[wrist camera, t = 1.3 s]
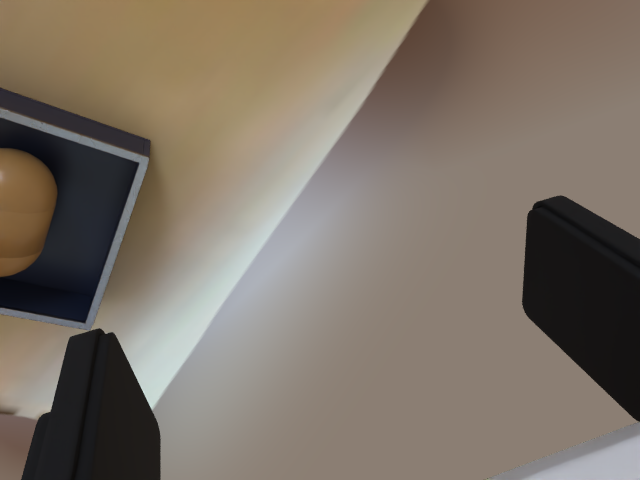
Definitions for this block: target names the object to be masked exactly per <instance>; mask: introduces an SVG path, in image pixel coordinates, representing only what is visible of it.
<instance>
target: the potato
mask: <svg viewBox="0 0 640 480" xmlns="http://www.w3.org/2000/svg"><path fill="white" fill-rule="evenodd" d="M57 194H58V193H57V185H56V182H55V179H54V176H53V175H52V173H51V171H50V170H49V168H48V167H47V166H46V165H45V164H44V163H43V162H42V161H41V160H40V159H38V158H36V157H35V156H33V155H32V154H30V153H27V152H25V151H22V150H18V149H13V148H0V277H4V276H10V275H13V274H16V273H18V272H21V271H23V270H25V269H26V268H28V267H29V266H30V265H31V264H33V263H34V262H35V261H36V259H37V258H38V257H39V255H40V254H41V252H42V250H43V247H44V244H45V241H46V237H47V234H48V230H49V227H50V223H51V220H52V216H53V213H54V209H55V206H56V201H57Z"/></svg>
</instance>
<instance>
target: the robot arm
mask: <svg viewBox="0 0 640 480" xmlns="http://www.w3.org/2000/svg"><path fill="white" fill-rule="evenodd" d="M526 232H527V233H526V247H525V265H524V281H523V298H522V305H523V308H524V311H525V313H526V315H527V316H528V317H529V319H531V320H532V321H533V322H534V323H535V324H536V325H537V326H538V327H539V328H540V329H541V330H542V331H543V332H544V333H545V334H546V335H547V336H548V337H549V338H550V339H551V340H552V341H553V342H555V343H556V344H557V345H558V346H559V347H560V348H561V349H562V350H563V351H564V352H565V353H566V354H567V355H568V356H569V357H570V358H571V359H572V360H573V361H574V362H575V363H576V364H578V365H579V366H580V367H581V368H582V369H583V370H584V371H585V372H586V373H587V374H588V375H589V376H590V377H591V378H592V379H593V380H594V381H595V382H596V383H597V384H598V385H599V386H601V387H602V388H603V389H604V390H605V391H606V392H607V393H608V394H609V395H610V396H611V397H612V398H613V399H614V400H615V401H616V402H617V403H618V404H619V405H620V406H621V407H622V408H624V409H625V410H626V411H627V412H628V413H629V414H630V415H631V416H632V417H633V418H634V419H636V420H637V421H639V422H637V423H635V424H632V425H629V426H627V427H624V428H621V429H618V430H616V431H613V432H610V433H608V434H605V435H602V436H599V437H597V438H594V439H591V440H589V441H586V442H583V443H581V444H578V445H575V446H573V447H570V448H567V449H565V450H562V451H559V452H557V453H554V454H551V455H549V456H546V457H543V458H541V459H538V460H536V461H533V462H530V463H527V464H525V465H522V466H519V467H517V468H514V469H511V470H509V471H506V472H503V473H501V474H498V475H495V476H493V477H490V478H487V479H485V480H640V239H638V238H637V237H634V236H633V235H631V234H629V233H628V232H626V231H624V230H623V229H621V228H619V227H617V226H616V225H614V224H612V223H610V222H609V221H607V220H605V219H603V218H602V217H600V216H598V215H596V214H594V213H593V212H591V211H589V210H588V209H586V208H584V207H582V206H581V205H579V204H577V203H575V202H574V201H572V200H570V199H568V198H567V197H564V196H556V197H552V198H549V199H546V200H542V201H538V202H536V203H535V204H534V206H533V208H532V210H531V211H529V213H528V216H527V231H526ZM21 480H160V431H159V427H158V423H157V421H156V418H155V416H154V414H153V412H152V410H151V408H150V406H149V404H148V402H147V399H146V397H145V395H144V393H143V391H142V389H141V387H140V385H139V383H138V381H137V379H136V377H135V375H134V372H133V370H132V368H131V366H130V364H129V362H128V360H127V358H126V356H125V354H124V352H123V350H122V347H121V345H120V343H119V341H118V339H117V337H116V335H115V334H114V333H113V332H111V333H107V334H105V333H104V331H103V330H102V329H100V328H99V329H95V330H92V331H89V332H85V333H82V334H78V335H75V336H72V337H70V338H69V341H68V344H67V348H66V352H65V356H64V360H63V364H62V368H61V372H60V376H59V380H58V384H57V388H56V392H55V396H54V401H53V405H52V409H51V412H49V413H45V414H43V415H42V416H41V417H40V418H39V420H38V422H37V424H36V428H35V431H34V435H33V438H32V442H31V446H30V450H29V453H28V457H27V461H26V464H25V468H24V471H23V475H22V479H21Z"/></svg>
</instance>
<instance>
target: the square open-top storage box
mask: <svg viewBox="0 0 640 480" xmlns="http://www.w3.org/2000/svg"><path fill="white" fill-rule="evenodd" d="M0 148H13V149H18V150H22V151H25V152H27V153H30V154H32V155H33V156H35V157H36V158H38V159H40V160H41V161H42V162H43V163H44V164H45V165H46V166H47V167H48V168H49V170H50V171H51V173H52V175H53V176H54V179H55V182H56V185H57V193H58V194H57V201H56V206H55V209H54V213H53V216H52V220H51V223H50V227H49V230H48V234H47V237H46V241H45V244H44V247H43V250H42V252H41V254H40V255H39V257H38V258H37V259H36V261H35V262H34V263H33V264H31V265H30V266H29V267H28V268H26V269H25V270H23V271H21V272H18V273H16V274H13V275H10V276H4V277H0V314H2V315H8V316H13V317H19V318H24V319H30V320H35V321H40V322H46V323H51V324H57V325H62V326H68V327H73V328H79V329H84V330H89V331H90V330H91V327H92V325H93V324H94V321H95V318H96V315H97V312H98V309H99V306H100V304H101V301H102V298H103V295H104V292H105V289H106V286H107V283H108V280H109V277H110V275H111V272H112V269H113V266H114V263H115V260H116V257H117V254H118V251H119V249H120V246H121V243H122V240H123V237H124V234H125V231H126V228H127V225H128V222H129V220H130V217H131V214H132V211H133V208H134V205H135V202H136V199H137V196H138V194H139V191H140V188H141V185H142V182H143V179H144V176H145V173H146V170H147V167H148V162H149V159H150V157H149V156H150V140H148V139H145V138H142V137H140V136H137V135H134V134H131V133H128V132H125V131H122V130H120V129H117V128H114V127H111V126H108V125H105V124H102V123H99V122H97V121H94V120H91V119H88V118H85V117H82V116H79V115H77V114H74V113H71V112H68V111H65V110H62V109H59V108H56V107H54V106H51V105H48V104H45V103H42V102H39V101H36V100H34V99H31V98H28V97H25V96H22V95H19V94H16V93H13V92H11V91H8V90H5V89H2V88H0Z"/></svg>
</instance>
